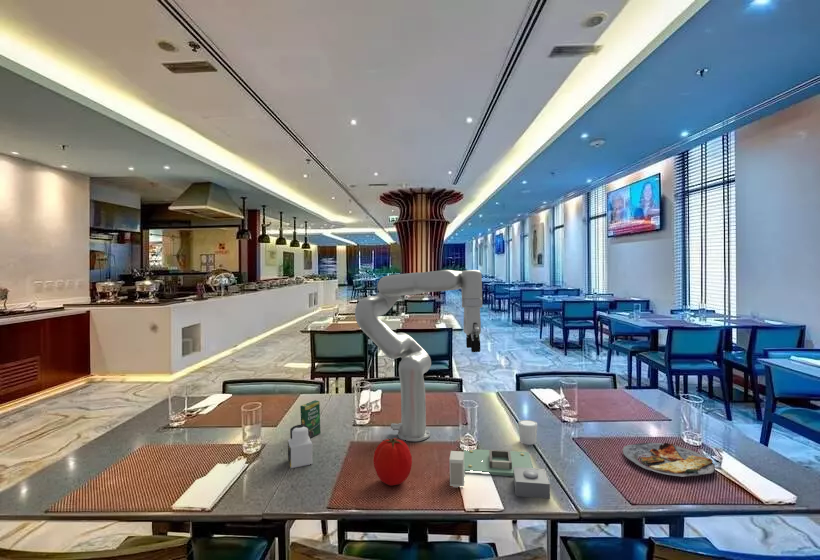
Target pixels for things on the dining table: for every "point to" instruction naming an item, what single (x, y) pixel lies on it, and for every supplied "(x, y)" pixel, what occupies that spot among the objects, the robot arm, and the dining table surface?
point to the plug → (457, 468)
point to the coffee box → (311, 417)
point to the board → (476, 456)
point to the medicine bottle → (299, 447)
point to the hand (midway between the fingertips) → (473, 349)
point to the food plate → (669, 459)
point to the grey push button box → (531, 482)
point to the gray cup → (528, 431)
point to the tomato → (392, 461)
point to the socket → (500, 463)
